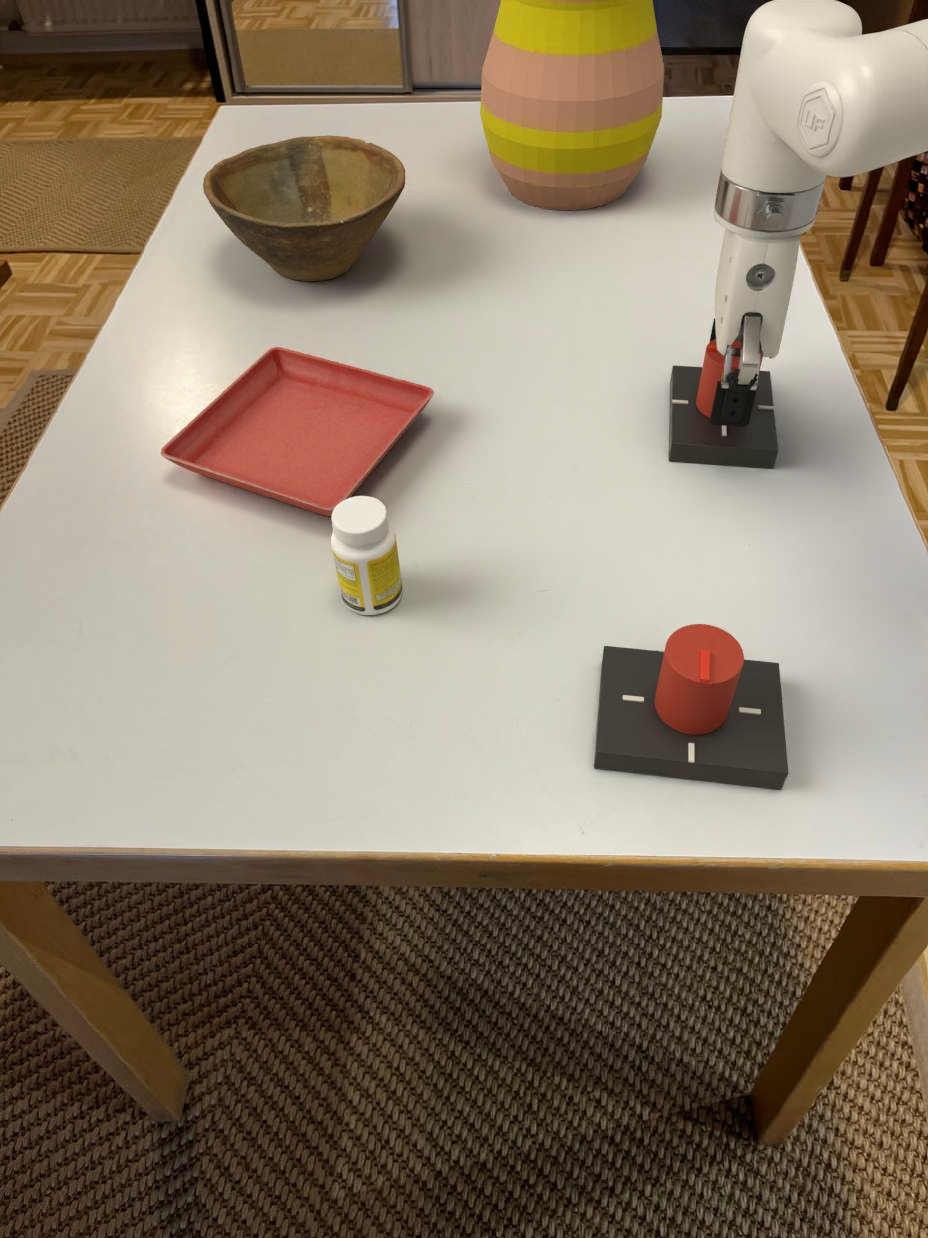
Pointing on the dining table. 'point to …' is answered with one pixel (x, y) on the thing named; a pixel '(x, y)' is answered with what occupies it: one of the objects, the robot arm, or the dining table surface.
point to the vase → (571, 98)
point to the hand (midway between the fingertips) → (726, 390)
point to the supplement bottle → (365, 556)
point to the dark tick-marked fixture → (725, 755)
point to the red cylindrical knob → (713, 375)
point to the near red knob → (698, 678)
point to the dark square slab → (720, 426)
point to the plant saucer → (299, 429)
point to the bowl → (306, 201)
